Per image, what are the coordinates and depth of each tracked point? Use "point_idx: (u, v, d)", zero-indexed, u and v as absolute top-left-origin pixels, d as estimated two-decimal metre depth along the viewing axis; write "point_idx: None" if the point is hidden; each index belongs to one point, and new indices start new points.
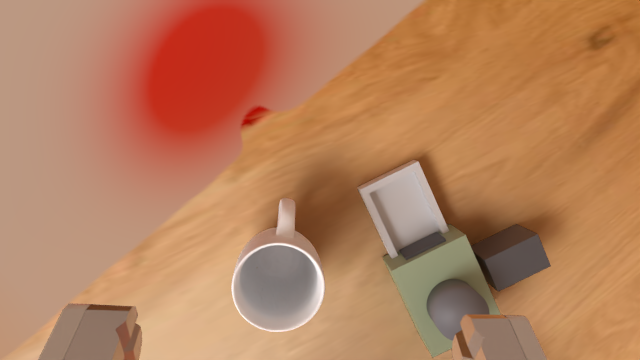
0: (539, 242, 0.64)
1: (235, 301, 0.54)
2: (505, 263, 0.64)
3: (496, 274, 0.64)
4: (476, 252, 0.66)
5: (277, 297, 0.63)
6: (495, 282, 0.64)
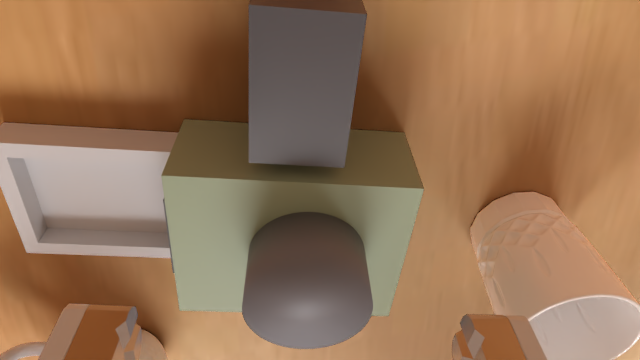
0: (278, 12, 0.20)
1: None
2: (285, 124, 0.23)
3: (301, 153, 0.24)
4: None
5: None
6: (318, 163, 0.24)
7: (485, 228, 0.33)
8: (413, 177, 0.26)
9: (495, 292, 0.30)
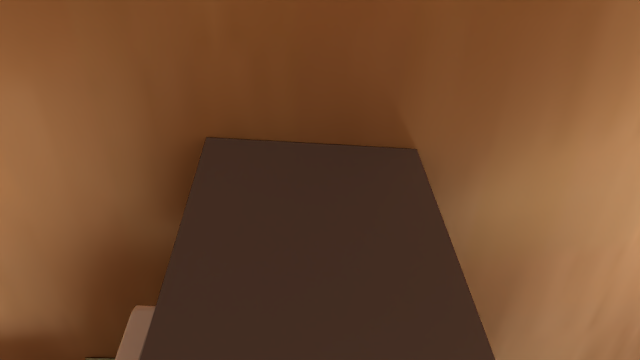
0: None
1: None
2: None
3: None
4: None
5: None
6: None
7: None
8: None
9: None
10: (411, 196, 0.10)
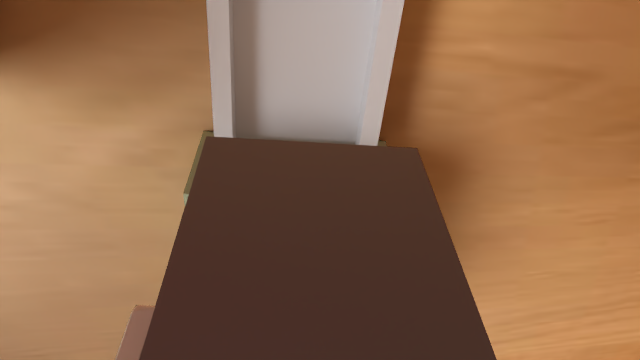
0: None
1: None
2: None
3: None
4: None
5: None
6: None
7: None
8: None
9: None
10: (411, 195, 0.10)
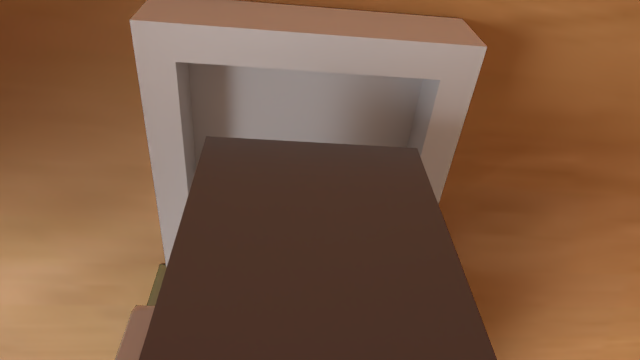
0: None
1: None
2: None
3: None
4: None
5: None
6: None
7: None
8: None
9: None
10: (412, 195, 0.10)
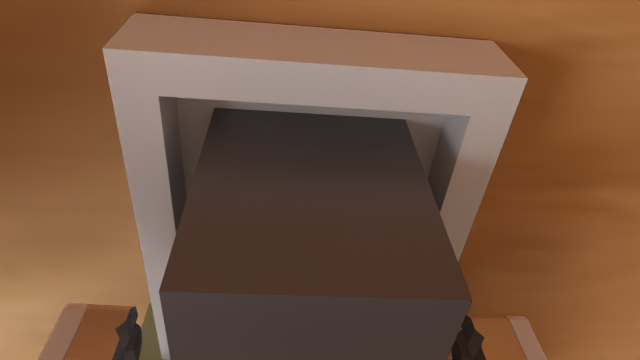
0: (240, 302, 0.07)
1: None
2: None
3: None
4: None
5: None
6: None
7: None
8: None
9: None
10: (398, 157, 0.11)
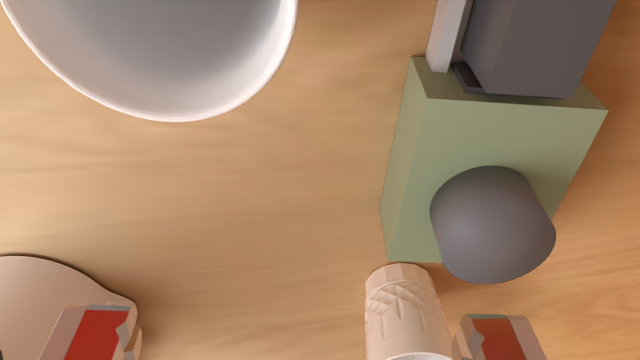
0: None
1: None
2: (532, 54, 0.25)
3: (536, 84, 0.26)
4: (471, 65, 0.29)
5: (159, 17, 0.26)
6: (549, 94, 0.26)
7: (419, 278, 0.44)
8: None
9: (417, 318, 0.40)
10: None
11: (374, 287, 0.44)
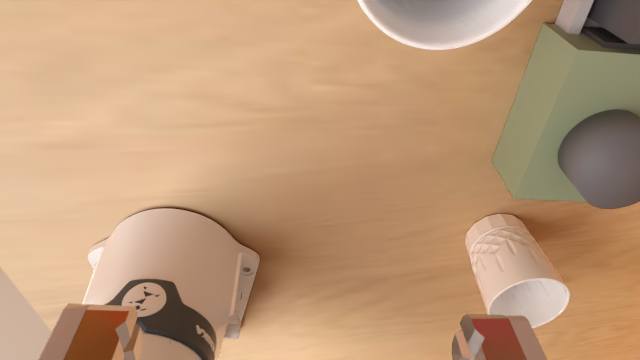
0: None
1: None
2: None
3: None
4: (606, 25, 0.36)
5: None
6: None
7: (520, 225, 0.50)
8: None
9: (529, 253, 0.46)
10: None
11: (480, 234, 0.51)
